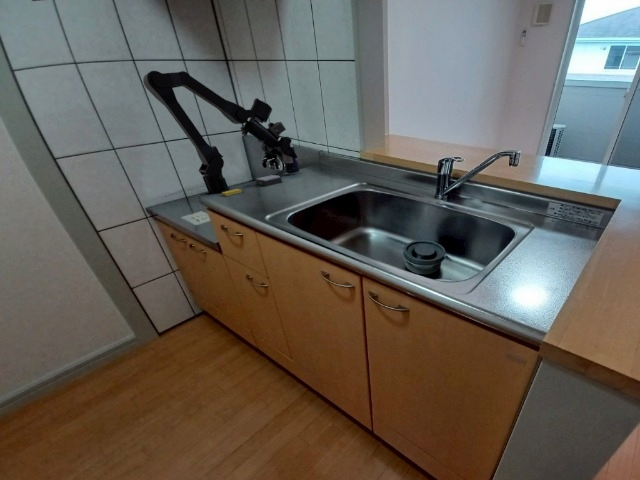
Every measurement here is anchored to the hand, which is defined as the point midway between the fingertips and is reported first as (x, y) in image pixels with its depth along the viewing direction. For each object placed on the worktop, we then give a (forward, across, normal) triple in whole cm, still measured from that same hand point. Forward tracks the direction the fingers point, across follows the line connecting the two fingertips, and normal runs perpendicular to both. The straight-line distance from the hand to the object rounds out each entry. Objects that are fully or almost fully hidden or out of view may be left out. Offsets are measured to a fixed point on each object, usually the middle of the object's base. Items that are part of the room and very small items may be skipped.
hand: (292, 157), depth 142 cm
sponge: (-19, -11, +28) cm, 36 cm away
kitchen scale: (-8, -9, +17) cm, 21 cm away
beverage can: (+4, 0, +6) cm, 7 cm away
